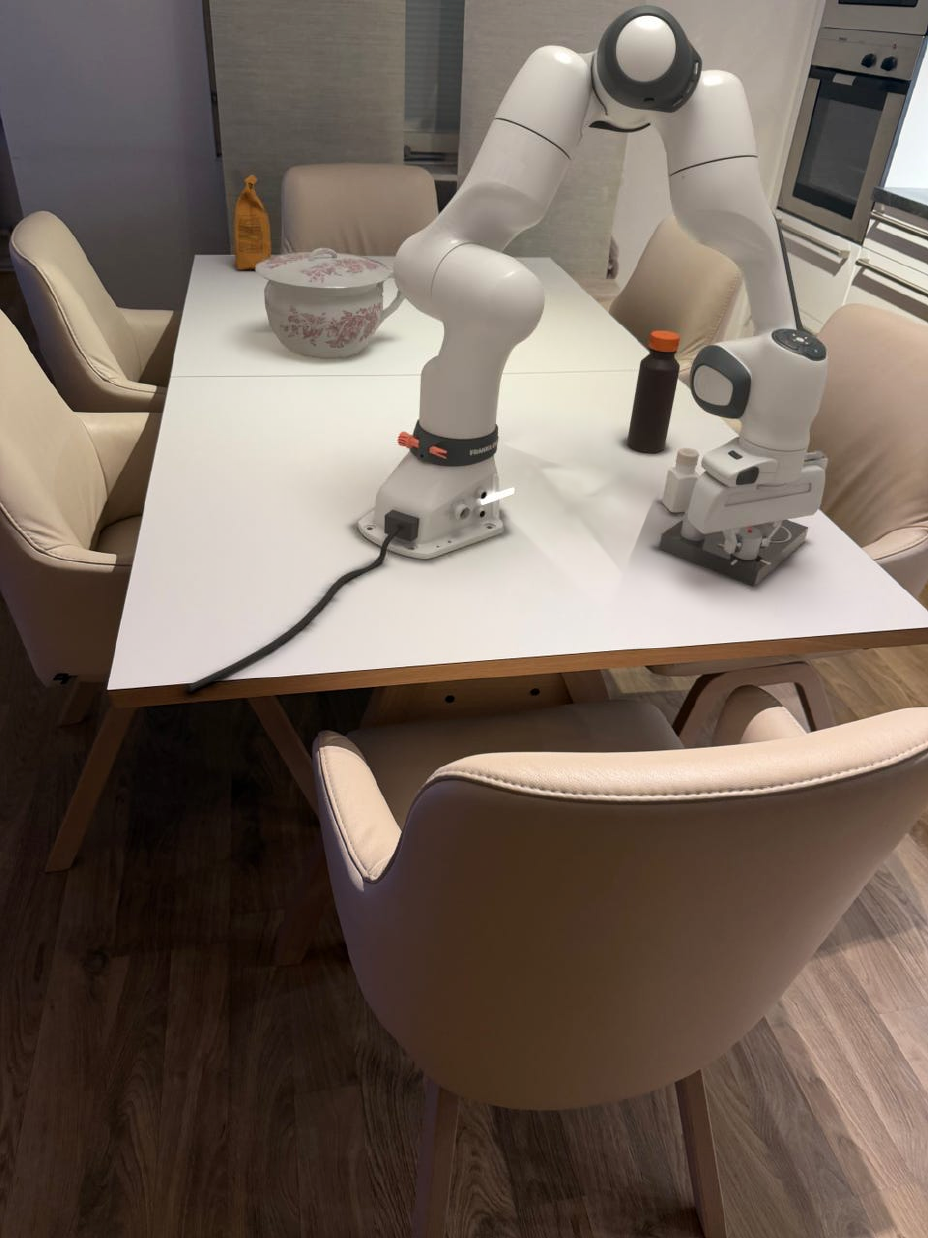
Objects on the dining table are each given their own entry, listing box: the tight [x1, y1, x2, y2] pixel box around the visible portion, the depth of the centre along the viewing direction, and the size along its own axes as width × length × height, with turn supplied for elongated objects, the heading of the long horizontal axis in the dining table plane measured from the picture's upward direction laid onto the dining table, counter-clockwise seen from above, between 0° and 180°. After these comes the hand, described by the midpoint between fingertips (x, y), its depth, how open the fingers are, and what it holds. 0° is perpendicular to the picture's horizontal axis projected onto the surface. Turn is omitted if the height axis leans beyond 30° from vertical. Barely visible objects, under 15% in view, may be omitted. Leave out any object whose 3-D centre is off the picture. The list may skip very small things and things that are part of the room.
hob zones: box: [681, 508, 791, 543], centre depth 139 cm, size 14×14×4 cm
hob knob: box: [732, 526, 763, 560], centre depth 133 cm, size 4×4×4 cm
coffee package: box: [233, 174, 272, 271], centre depth 251 cm, size 10×12×22 cm
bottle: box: [626, 330, 681, 454], centre depth 165 cm, size 7×7×20 cm
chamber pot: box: [255, 247, 406, 360], centre depth 198 cm, size 28×28×21 cm
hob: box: [658, 518, 809, 587], centre depth 141 cm, size 19×15×3 cm
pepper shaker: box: [661, 447, 700, 514], centre depth 148 cm, size 4×4×10 cm
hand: (745, 548), depth 134 cm, fingers closed on hob knob, 3 cm apart
